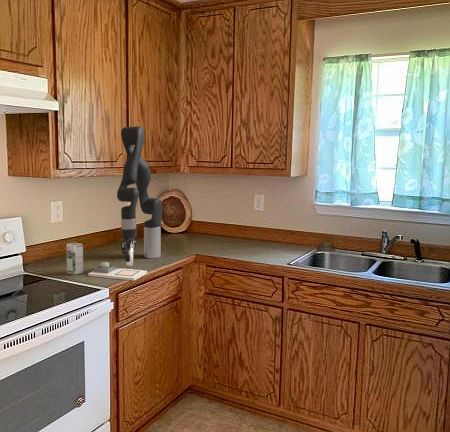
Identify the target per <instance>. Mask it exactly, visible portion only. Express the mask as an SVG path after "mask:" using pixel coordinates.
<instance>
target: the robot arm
mask: <svg viewBox="0 0 450 432" xmlns="http://www.w3.org/2000/svg"><path fill="white" fill-rule="evenodd" d="M120 137H121V142H122V144H123V147H124V150H125V151H126V155H127V159H126V160H125V162H124V165H123V170H122V177H121V182H120V184H119V185H118V186H119V187H118V189H117V192H116V198H117V200H118V201H119V202H120V203H121V202H123V203H125V202H127V203H128V202H130V204H129V205H126V206H123V207H121V208H120V209H121V210H120V213H121V215H120V216H121V219H120V220H121V221H120V231H121V232H120V236H121V238H123V243H120V247H121V252H122V255H124V257H125V259H124V260H125V261H124V262H125V263H126V262H130V250H131V245H132V244H133V260H134V258H135V256H134V255H135V254H134V253H135V251H136V250H137V245H138V244H137V242H138V239H137V238H136V237H137V217H136V216H137V214H136V212H137V211H136V210H137V205H138V204H137V203H138V201H139V205H140V209H141V212H142V213H143V214H145V215H151V218H150V219H148V220H145V221H144V222H143V242H144V243H143V249H144V250H143V253H144V254H143V257H144V258H146V259H147V258H148V259H158V258H161V256H162V255H161V254H162V253H161V252H162V251H161V247H162V245H161V244H162V241H161V240H162V237H161V235H162V232H161V230H162V229H161V227H162V225H161V224H162V218H163V217H162V216H163V203H162V200H161V198H157V197H150V196H149V193H148V188H149V186H150V182H151V180H152V173H151V169H150V166H149V164H148V163H147V161H146V160H145V159H144V158H143V157H142V151H143V148H144V145H145V139H146V138H145V137H146V135H145V130H144V128H143V127H142V126H141V125H140V126H139V125H138V126H137V125H136V126H125V127H122V128H121V130H120ZM134 184H135V186H136V187H129V186H131V185H134Z"/></svg>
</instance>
